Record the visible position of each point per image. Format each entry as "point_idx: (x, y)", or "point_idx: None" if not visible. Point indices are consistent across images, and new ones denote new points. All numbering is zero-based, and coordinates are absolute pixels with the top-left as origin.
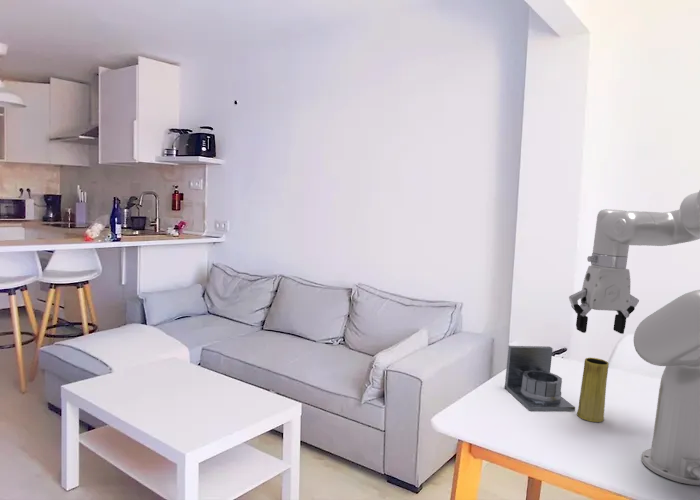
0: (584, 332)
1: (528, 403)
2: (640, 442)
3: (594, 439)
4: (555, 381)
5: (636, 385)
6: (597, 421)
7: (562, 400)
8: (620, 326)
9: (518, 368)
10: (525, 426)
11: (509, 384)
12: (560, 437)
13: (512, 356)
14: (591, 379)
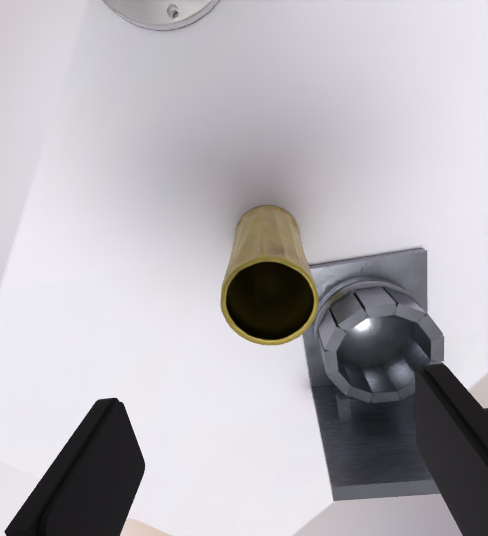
0: (430, 364)
1: (419, 274)
2: (192, 98)
3: (316, 91)
4: (357, 323)
5: None
6: (261, 206)
7: None
8: (100, 451)
9: None
10: (484, 143)
11: None
12: (412, 85)
13: None
14: (294, 245)
